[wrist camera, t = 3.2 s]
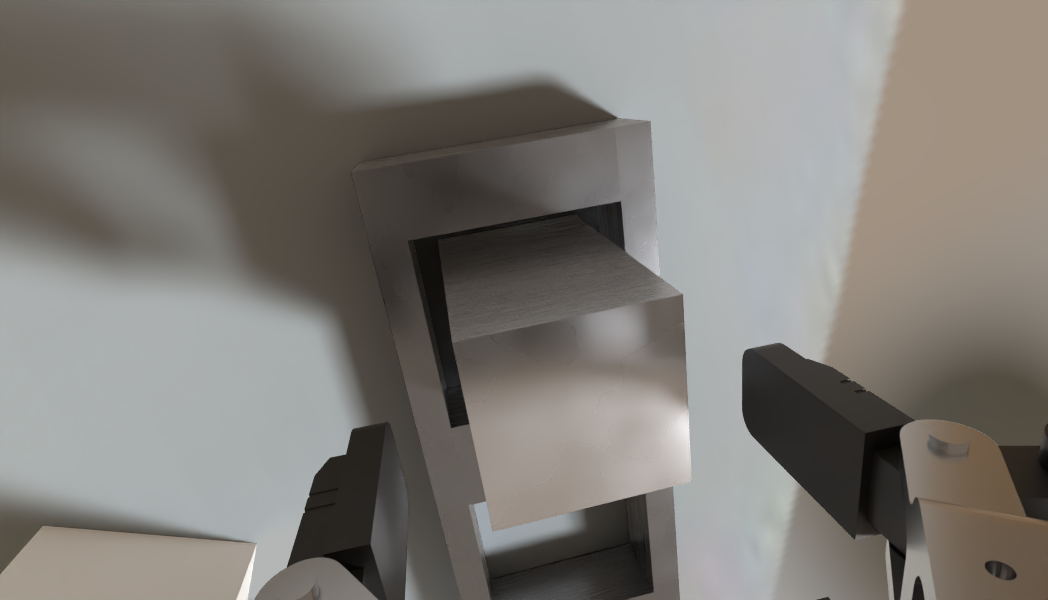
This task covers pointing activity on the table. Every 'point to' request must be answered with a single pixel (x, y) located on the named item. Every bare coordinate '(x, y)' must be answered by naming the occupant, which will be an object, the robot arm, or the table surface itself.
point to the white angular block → (126, 567)
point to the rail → (440, 414)
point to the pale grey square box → (566, 368)
